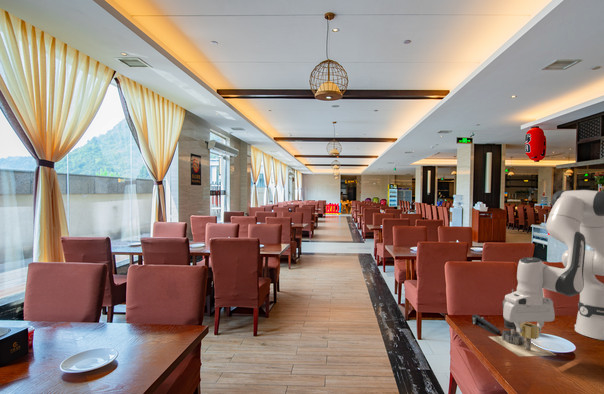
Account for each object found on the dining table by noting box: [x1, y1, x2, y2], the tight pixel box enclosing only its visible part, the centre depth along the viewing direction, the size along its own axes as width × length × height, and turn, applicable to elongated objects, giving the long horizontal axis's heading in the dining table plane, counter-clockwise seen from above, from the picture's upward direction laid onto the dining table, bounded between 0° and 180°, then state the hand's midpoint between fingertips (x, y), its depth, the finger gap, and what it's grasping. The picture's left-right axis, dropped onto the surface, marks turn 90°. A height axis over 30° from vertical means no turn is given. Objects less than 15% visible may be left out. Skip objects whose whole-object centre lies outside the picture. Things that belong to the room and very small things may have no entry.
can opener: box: [471, 313, 502, 336], centre depth 154 cm, size 18×7×6 cm, turn 5°
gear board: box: [488, 329, 557, 357], centre depth 136 cm, size 16×18×6 cm
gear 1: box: [501, 329, 526, 345], centre depth 141 cm, size 8×8×3 cm
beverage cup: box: [501, 288, 516, 331], centre depth 155 cm, size 7×7×20 cm
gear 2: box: [519, 322, 540, 340], centre depth 132 cm, size 7×7×4 cm
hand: (528, 331), depth 132 cm, fingers closed on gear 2, 7 cm apart
